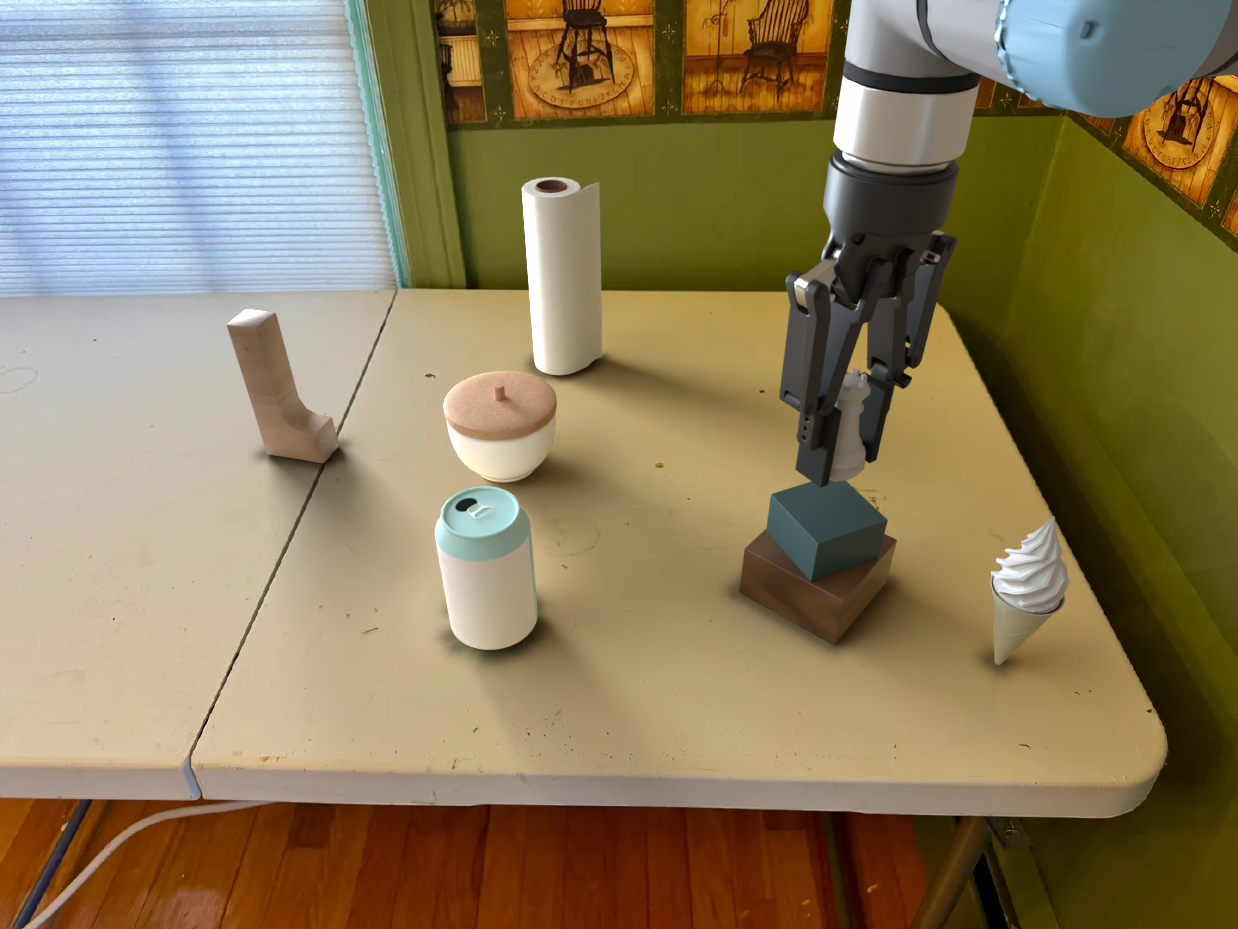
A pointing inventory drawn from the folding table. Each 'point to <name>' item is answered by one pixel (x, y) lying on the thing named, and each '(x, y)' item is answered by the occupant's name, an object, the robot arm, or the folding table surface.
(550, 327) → the paper towel roll
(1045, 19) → the robot arm
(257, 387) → the wooden block
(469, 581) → the can
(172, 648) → the folding table surface
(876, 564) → the base block
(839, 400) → the rook chess piece
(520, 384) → the trinket box
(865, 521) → the top block
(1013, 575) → the ice cream cone
